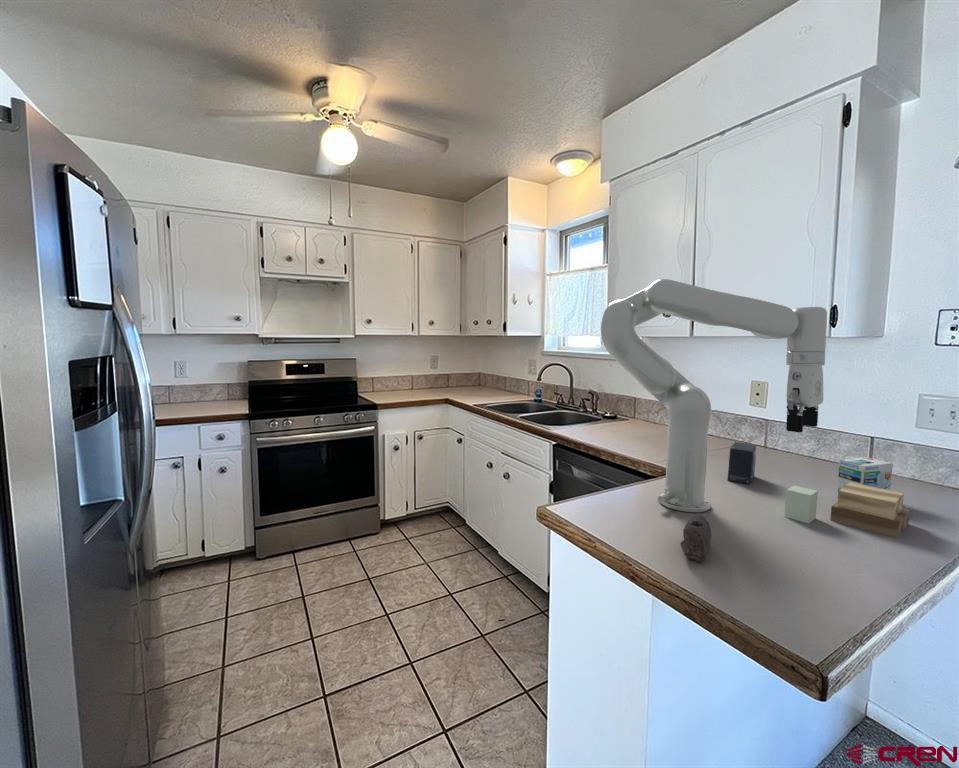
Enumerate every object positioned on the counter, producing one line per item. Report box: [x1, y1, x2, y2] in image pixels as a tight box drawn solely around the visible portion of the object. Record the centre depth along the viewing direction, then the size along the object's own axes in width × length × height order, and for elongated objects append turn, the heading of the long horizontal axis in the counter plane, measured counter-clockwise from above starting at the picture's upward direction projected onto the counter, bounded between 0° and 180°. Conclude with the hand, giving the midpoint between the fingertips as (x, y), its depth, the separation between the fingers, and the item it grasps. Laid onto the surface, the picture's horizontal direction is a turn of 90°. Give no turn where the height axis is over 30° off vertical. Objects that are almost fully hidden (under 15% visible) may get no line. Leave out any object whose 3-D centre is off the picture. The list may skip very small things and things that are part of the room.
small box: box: [727, 441, 757, 485], centre depth 138 cm, size 11×6×10 cm, turn 143°
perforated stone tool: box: [680, 515, 712, 563], centre depth 92 cm, size 15×5×7 cm, turn 147°
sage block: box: [783, 485, 819, 524], centre depth 109 cm, size 5×5×7 cm
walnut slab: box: [830, 501, 911, 539], centre depth 106 cm, size 12×12×4 cm
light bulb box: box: [836, 456, 894, 498], centre depth 121 cm, size 11×7×11 cm, turn 105°
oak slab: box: [837, 482, 905, 520], centre depth 106 cm, size 10×10×4 cm
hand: (802, 428), depth 108 cm, fingers open, 9 cm apart
